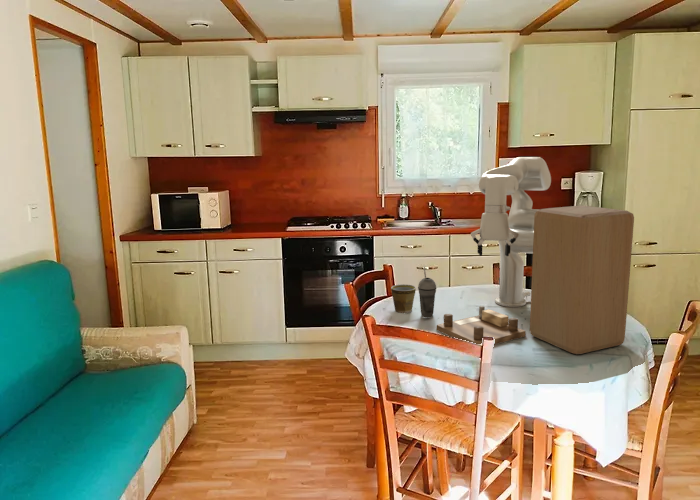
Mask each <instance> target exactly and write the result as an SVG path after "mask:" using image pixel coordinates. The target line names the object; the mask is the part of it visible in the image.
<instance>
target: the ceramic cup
mask: <svg viewBox="0 0 700 500" xmlns="http://www.w3.org/2000/svg"><path fill="white" fill-rule="evenodd" d="M416 289H417V287H416V286H415V285H412V284H396V285H392V286H391V288H390V290H391V296H392V300H393V304H394V305H393V307H394V311H395V312H396V313H397V314H404V313H405V314H410V313H411V312H412V310H413V307H414V306H413V305H414V300H415V295H416Z"/></svg>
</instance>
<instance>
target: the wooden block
mask: <svg viewBox="0 0 700 500" xmlns="http://www.w3.org/2000/svg"><path fill="white" fill-rule="evenodd" d="M634 226H635V216H634V213H632V212H630V211H628V210H624V209H616V208H609V207H598V206H589V205H583V204H582V205H573V206H572V205H570V206H562V207H561V206H559V207H548V208H540V209H538V211H536V213H535V215H534V239H533V254H532V264H531V287H530V288H531V289H530V309H529V311H530V313H529V314H530V315H529V317H530V318H529V333H530V335H531V336H533V337H535V338H537V339H538V340H539V339H540V340H541V341H544V342H546V343H548V344H550V345H553V346H555V347H557V348H560V349H562V350H564V351H566V352H568V353H572V354H573V355H582V354H586V353H590V352H591V353H592V352H596V351H600V350H602V349H607V348H612V347H617V346H620V345H622V344H623V343H624V342H625V340H626V330H627V329H626V328H627V327H626V326H627V314H628V302H629V301H628V300H629V289H630V278H631V277H630V275H631V266H632V265H631V264H632V251H633V241H634V240H633V237H634V228H635V227H634Z"/></svg>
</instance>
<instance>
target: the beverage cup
mask: <svg viewBox="0 0 700 500" xmlns="http://www.w3.org/2000/svg"><path fill="white" fill-rule="evenodd" d="M426 273H427V272H426V266H423V274H424V275H423V276H424V278H422V279H420V281H419V283H418V287H417V290H418V294H419V302H420V303H419V304H420V313H421V314H420V315H421V317H422V318H425V319H430V318H433V316H434V312H435V311H434V308H435V300H436V292H437V288H438V287H437V284H436V282H435V281H434V279H433V278H431V277H427V274H426Z"/></svg>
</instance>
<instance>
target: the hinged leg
mask: <svg viewBox="0 0 700 500" xmlns="http://www.w3.org/2000/svg"><path fill="white" fill-rule="evenodd" d="M509 317H510V316H509V315H506V314H504V313H500V312H497V311H495V310H492V309H489V308H488V309H485V310H483V311H482V320H484V321H487V322H490V323H492V324H495V325H497V326H500V327H503V326H507V325H508V324H509Z"/></svg>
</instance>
